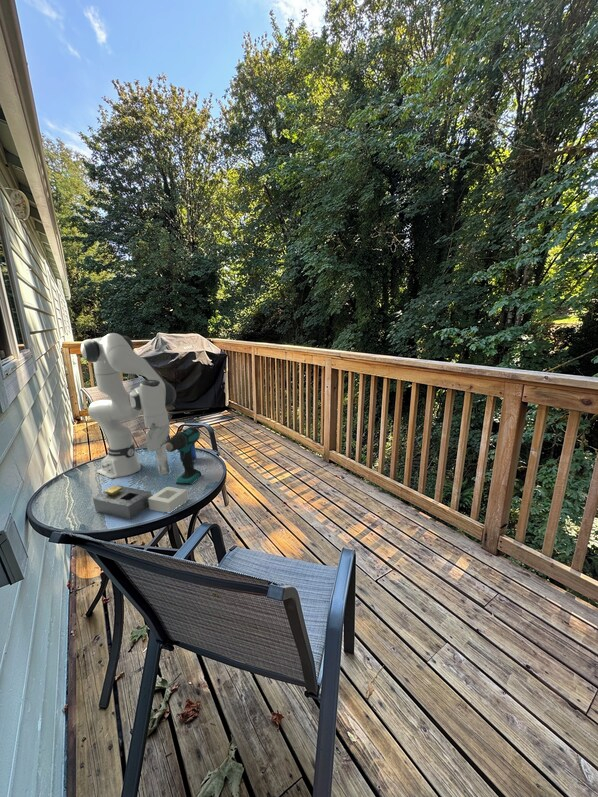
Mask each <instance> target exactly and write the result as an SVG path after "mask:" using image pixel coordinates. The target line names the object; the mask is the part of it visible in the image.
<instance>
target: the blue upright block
mask: <svg viewBox="0 0 598 797" xmlns="http://www.w3.org/2000/svg"><path fill="white" fill-rule="evenodd" d="M195 444H196V443H195ZM195 444H194V445H193V446H192V447H191V453H192V457H193V461H195V462H196V460H197V453H196V452H197V451H196V445H195ZM180 462H181V463H182V459H180Z"/></svg>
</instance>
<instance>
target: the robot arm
mask: <svg viewBox="0 0 598 797" xmlns="http://www.w3.org/2000/svg"><path fill="white" fill-rule="evenodd" d="M134 348H135V347H134V343H133V341H132V339H131V338H130V337H129V336H127V335H121V334H119V333H115V332H110V333H108V334H106V335H104V336H102V337H96V338H89V339H85V340H83V341H82V342H81V343H80V353H81V355H82V357H83V359H84V360H85V361H87V362H88V363H93V364H92V365H93V370H94V371H93V372H94V378H95V381H96V386H97V389H98V390H99V391H100V392H101V393H103V394H105V395H106V396H107V397H108V398H109V399H100V400H95V401H92V402H91V403H90V404H89V406H88V409H87V413H88V416H89V417H90V419H91V420H93V421H95V422H96V423H98V425H100V427H101V428H102V429H103V431H104V432H105V434H106V437H107V440H108V441H107V442H108V446H109V447H107V448H106V451H108V452H107V453H108V454H107V455H106V456H105V457H104V458H103V459H102V460H101V462H100V468H99V469H97V470H96V473H97V472H98V473H97V474H99V473H100V474H99V475H101V474H102V475H101V476H103V475H104V476H103V477H107V478H109V479H116V478H119V477H127V476H130V475H132V474H135V473H136V472H139V471H140V470H141V465H142V462H141V461H140V460H139V456H138V453H137V451H136V445H135V443H134V441H133V435H132V431H131V428H129V427H128V426H126V425H124V424H123V423H122V422H123V421H131V420H135V419H138V418H139V417H140V416H141V413H142V411H143V422H144V426H145V428H146V429H147V428H148V430H147V431H146V432H145V433H146V434H145V440H146V442H145V443H146V448H147V450H148V451H155V455H157V456H161V454H162V451H161V449H160V446H161V444H162V443H164V444H165V442H166V439H167V438H168V437H169V436H170V432H171V431H170V429H171V427H170V419H171V417H170V414H169V413H168V411H167V409H166V407H170V406H172V404H173V403H175V401H176V399H177V391H176V389H175V387H174V386H173V385H172V384H171V383H170V382H169V381H167V380H166V379H165V378H164V376H162V374H161V373H160V372H159V371H158V369H157V368H156V367H154V365H153V364H152V362H150V361H149V360H148V359H146V358H143V357H142V356H140V355H138V354H137V352H135V351H134ZM122 374H129V375H130V374H131V375H139V376H143V377H145V378H146V379H145V380H143V381H141V382H140V383H139V386H137V387H135V388H133V389H131V390H130V392H129V393H128V391H127V390H126V388H125V386H124V383H123V379H122ZM121 421H122V422H121Z"/></svg>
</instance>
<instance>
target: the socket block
mask: <svg viewBox="0 0 598 797" xmlns="http://www.w3.org/2000/svg"><path fill="white" fill-rule="evenodd" d="M116 486H119V487H122V488H123V489H122V490H121V491H119V492H120V493H118V494H116V495H114V496H110V495H108V494H106V493H104V492H102V493H100V494H98V495H97V496H95V497H92V500H93V504H94V505H93V506H94V511H95V512H96V511H98V512H99V513H101V514H106V515H110V516H113V517H118V518H122V519H126V520H129V521H131V520H132V519H134V518H135V517H137V516H138V515H140V514H141V513H143V512H144V511H146V510H147V509H150V508H149V502H148V498H150V497H151V496H153V493H152V491H149V490H145V489H144V490H142V489H139V488H134V487H129V486H124V485H119V484H117V485H116ZM98 512H97V513H98Z"/></svg>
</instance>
